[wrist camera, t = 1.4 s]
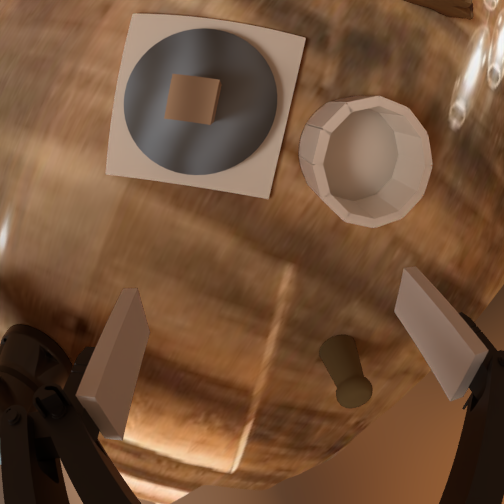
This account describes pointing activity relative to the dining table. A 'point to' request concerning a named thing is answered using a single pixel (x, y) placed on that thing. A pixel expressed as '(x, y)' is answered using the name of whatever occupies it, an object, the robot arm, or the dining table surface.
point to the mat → (251, 169)
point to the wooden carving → (448, 7)
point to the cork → (346, 371)
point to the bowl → (366, 159)
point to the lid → (200, 101)
